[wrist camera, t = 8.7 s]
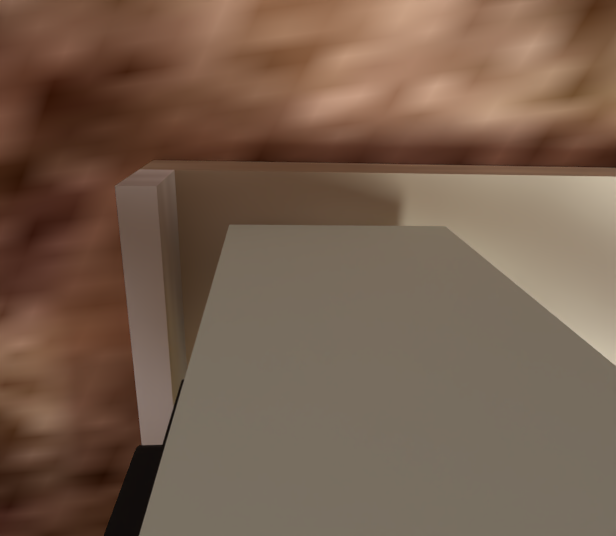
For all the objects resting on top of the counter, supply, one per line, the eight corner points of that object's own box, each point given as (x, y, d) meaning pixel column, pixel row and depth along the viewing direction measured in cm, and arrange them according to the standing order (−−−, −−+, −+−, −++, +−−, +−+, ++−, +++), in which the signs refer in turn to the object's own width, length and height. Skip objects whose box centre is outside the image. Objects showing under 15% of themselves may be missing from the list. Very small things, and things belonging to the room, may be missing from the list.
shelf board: (590, 615, 21) (651, 717, 17) (190, 637, 19) (173, 750, 16) (728, 169, 14) (863, 195, 11) (153, 159, 13) (114, 185, 10)
